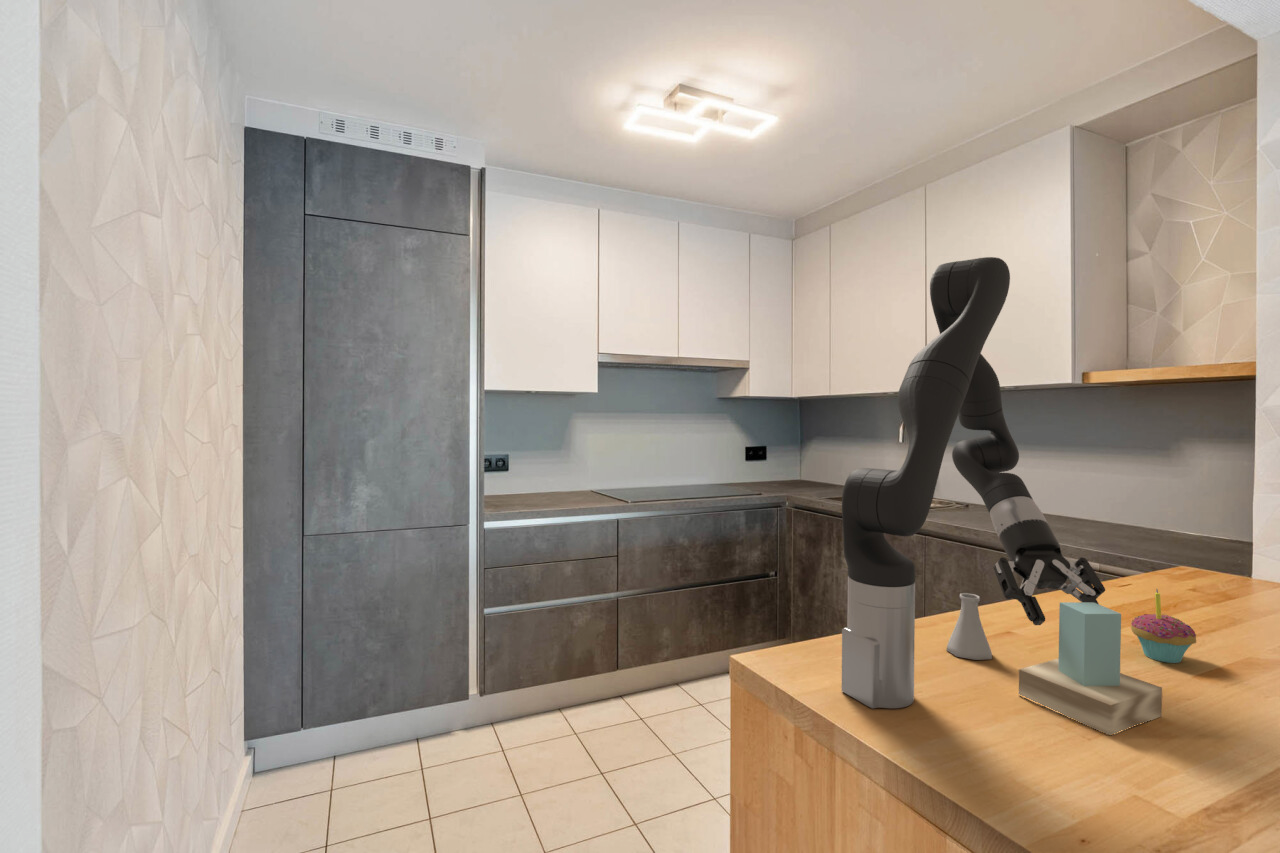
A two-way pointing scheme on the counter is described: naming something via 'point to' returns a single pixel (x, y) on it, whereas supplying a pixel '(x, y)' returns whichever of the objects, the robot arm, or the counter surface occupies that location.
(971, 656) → the flask
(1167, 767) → the counter surface
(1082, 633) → the teal block
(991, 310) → the robot arm
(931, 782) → the counter surface
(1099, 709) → the birch plinth
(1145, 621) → the cupcake
